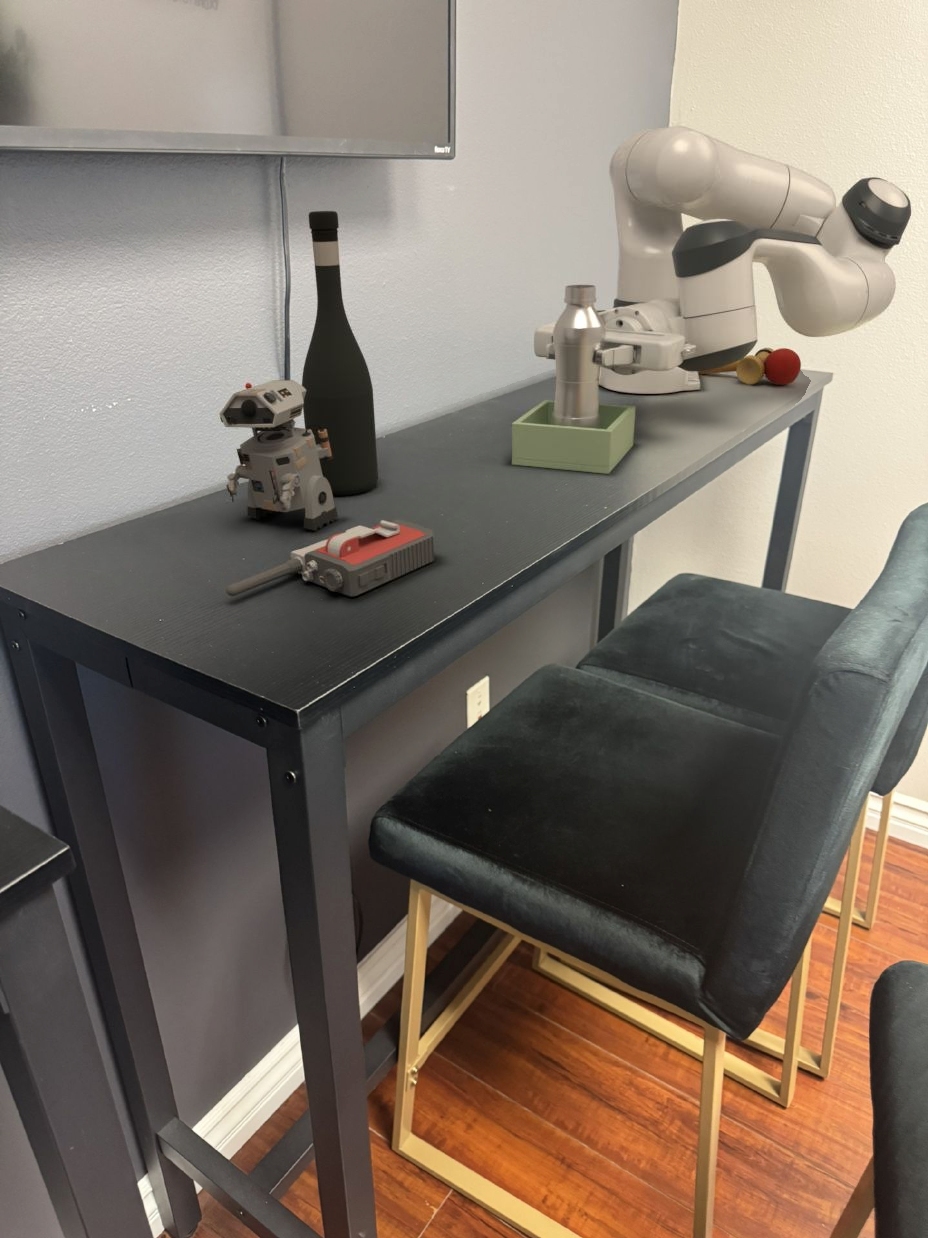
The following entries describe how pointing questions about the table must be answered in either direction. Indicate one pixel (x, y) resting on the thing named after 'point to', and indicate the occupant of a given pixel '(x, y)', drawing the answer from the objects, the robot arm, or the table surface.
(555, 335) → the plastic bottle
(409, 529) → the walkie-talkie
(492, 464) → the table surface
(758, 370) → the kendama
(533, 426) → the bin
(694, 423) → the table surface
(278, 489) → the figurine
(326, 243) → the wine bottle
